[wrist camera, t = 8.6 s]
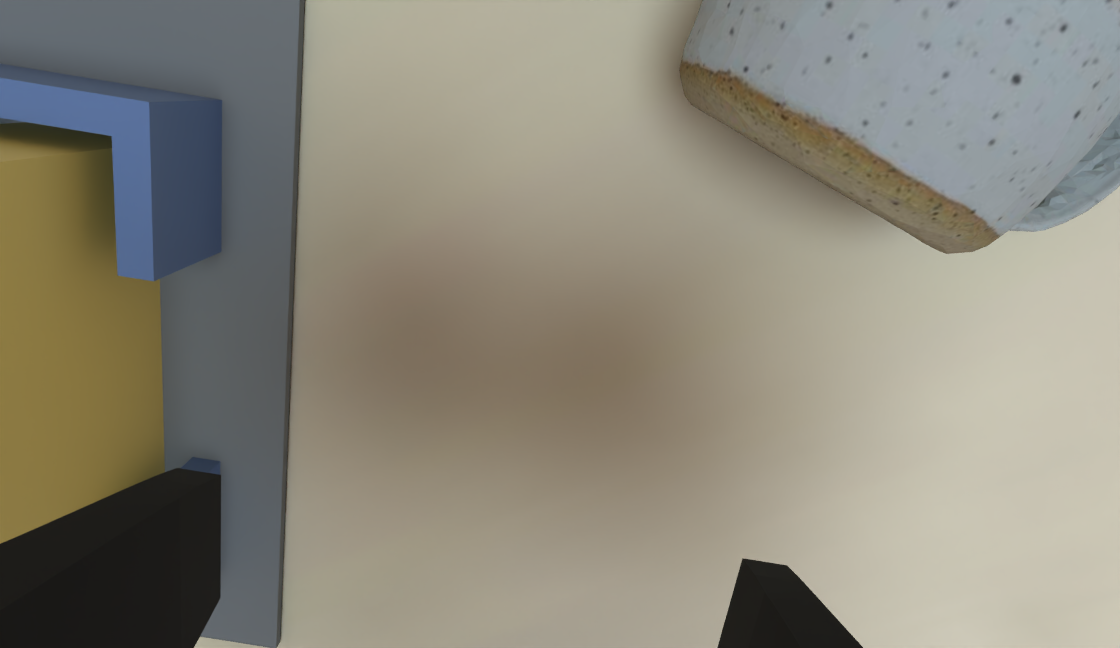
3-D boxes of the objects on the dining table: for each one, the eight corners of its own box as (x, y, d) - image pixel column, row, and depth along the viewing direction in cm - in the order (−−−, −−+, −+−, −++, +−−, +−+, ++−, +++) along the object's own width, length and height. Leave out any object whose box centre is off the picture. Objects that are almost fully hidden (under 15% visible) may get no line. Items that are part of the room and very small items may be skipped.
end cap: (-40, 57, 17) (-165, 50, 14) (221, 99, 17) (149, 102, 14) (-24, 211, 18) (-137, 234, 16) (221, 251, 19) (153, 281, 16)
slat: (165, 519, 21) (8, 678, 15) (59, 503, 21) (-138, 655, 15) (156, 142, 18) (-51, 168, 12) (28, 122, 18) (-240, 137, 12)
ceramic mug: (638, 89, 17) (679, 97, 10) (836, -281, 15) (1084, -632, 7) (995, 290, 18) (1262, 427, 11) (1230, -18, 16) (1766, -99, 9)
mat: (280, 641, 23) (276, 648, 23) (-31, 591, 23) (-40, 598, 22) (304, -3, 17) (299, -4, 17) (-118, -73, 17) (-131, -75, 16)
